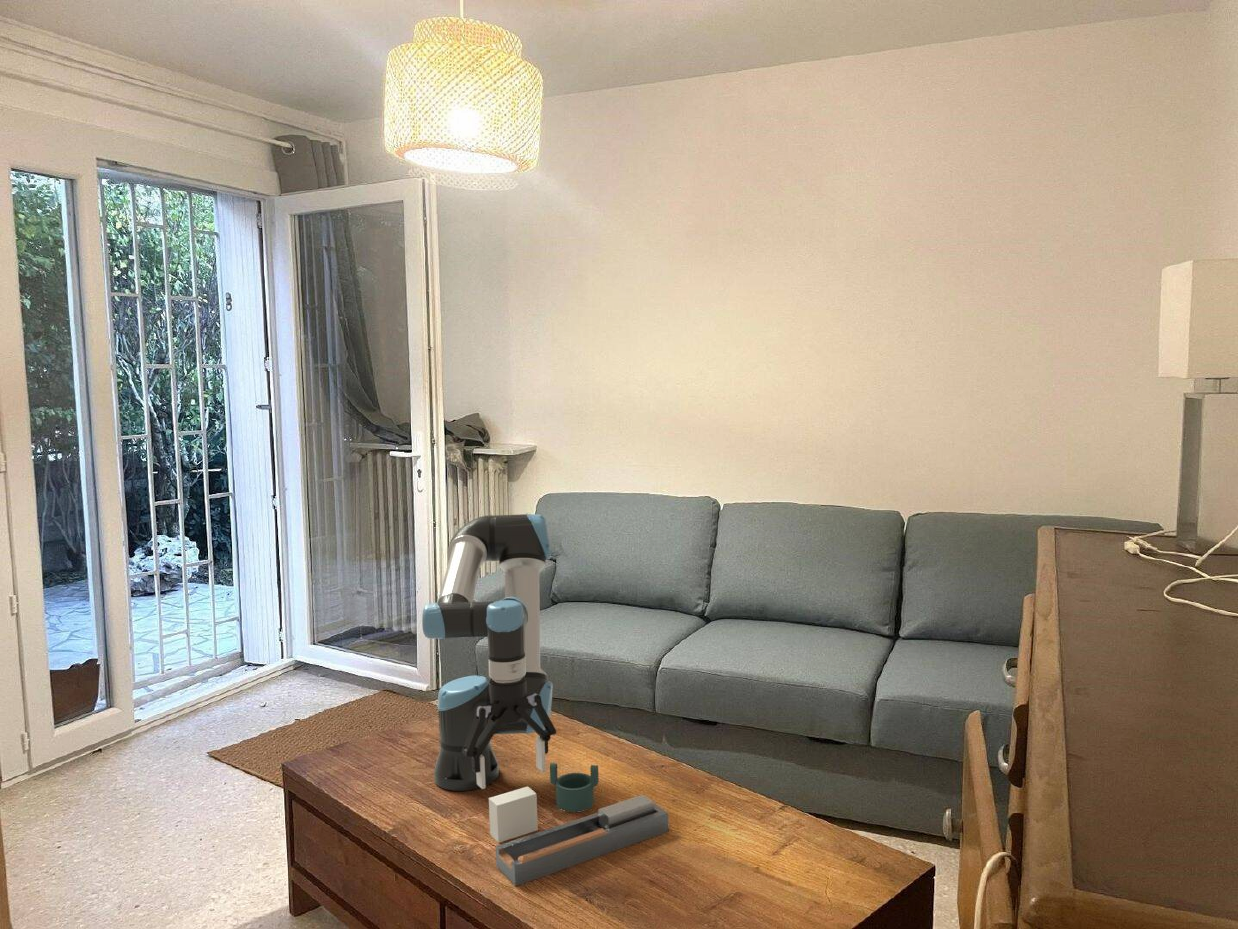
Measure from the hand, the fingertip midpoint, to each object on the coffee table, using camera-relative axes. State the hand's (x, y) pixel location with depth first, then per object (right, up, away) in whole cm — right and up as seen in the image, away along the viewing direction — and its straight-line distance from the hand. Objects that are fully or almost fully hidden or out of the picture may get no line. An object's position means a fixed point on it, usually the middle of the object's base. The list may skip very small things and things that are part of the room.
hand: (511, 777), depth 186 cm
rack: (+15, -12, -5) cm, 20 cm away
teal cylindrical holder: (+13, -11, +14) cm, 22 cm away
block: (0, -12, +2) cm, 12 cm away
